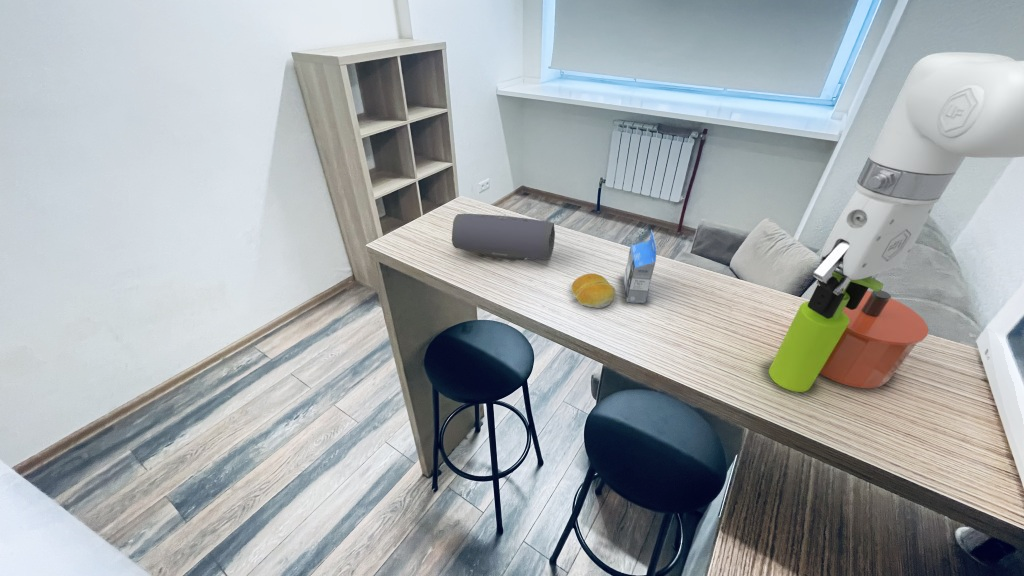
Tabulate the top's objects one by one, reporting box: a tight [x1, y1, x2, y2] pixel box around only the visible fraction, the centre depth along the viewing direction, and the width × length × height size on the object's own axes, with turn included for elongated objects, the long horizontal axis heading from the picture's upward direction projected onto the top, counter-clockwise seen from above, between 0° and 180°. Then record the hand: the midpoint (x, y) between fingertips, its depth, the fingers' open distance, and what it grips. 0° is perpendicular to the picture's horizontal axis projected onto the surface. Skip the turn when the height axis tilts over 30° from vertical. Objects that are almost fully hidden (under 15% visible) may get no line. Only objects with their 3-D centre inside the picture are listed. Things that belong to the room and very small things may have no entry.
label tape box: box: [623, 229, 658, 304], centre depth 81 cm, size 9×4×12 cm, turn 171°
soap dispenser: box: [768, 272, 884, 393], centre depth 59 cm, size 6×7×20 cm
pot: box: [819, 330, 918, 389], centre depth 65 cm, size 13×13×10 cm
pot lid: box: [843, 289, 929, 345], centre depth 61 cm, size 14×14×5 cm
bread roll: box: [571, 273, 616, 309], centre depth 82 cm, size 8×9×4 cm
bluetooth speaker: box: [451, 213, 556, 262], centre depth 95 cm, size 23×9×10 cm, turn 76°
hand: (831, 307), depth 56 cm, fingers open, 4 cm apart
